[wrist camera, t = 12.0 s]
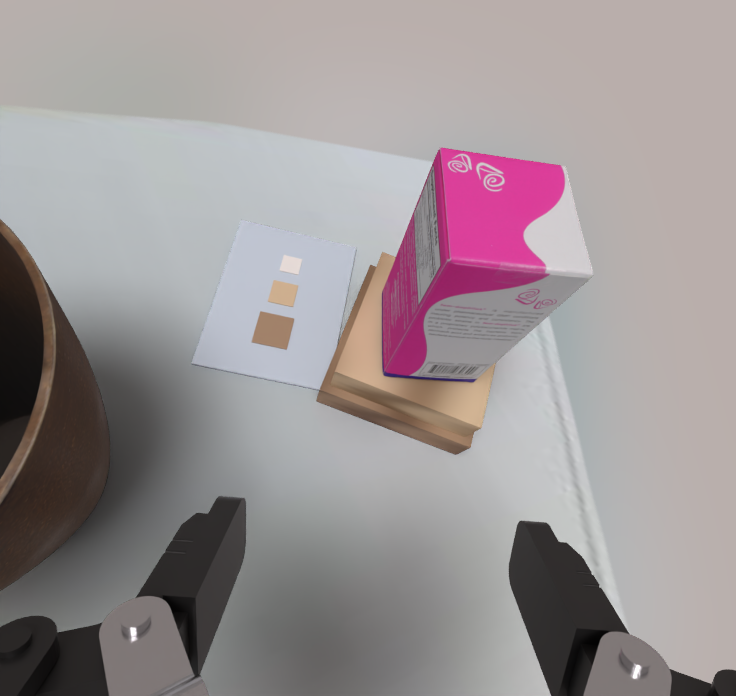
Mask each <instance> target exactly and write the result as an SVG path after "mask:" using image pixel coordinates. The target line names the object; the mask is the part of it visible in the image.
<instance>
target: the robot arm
mask: <svg viewBox="0 0 736 696" xmlns="http://www.w3.org/2000/svg"><path fill="white" fill-rule="evenodd" d="M245 545H246V501H245V499H244V498H236V497H223V496H219V497H218V498H217V499H216V501H215V502H214V504H213V506H212V508H211V510H210V511H209V513H208V514H203V513H196V514H195V515H194V516H192V517H191V518H190V519H188V520H187V521H186V522H185V523H183V524H182V525H181V527H180V528H179V530H178V532H177V533H176V535H175V536H174V538H173V541H171V543H170V544H169V546H168V547H167V549H166V552H165V553H164V554H163V555H162V557H161V559H160V560H159V562H158V563H157V565H156V567H155V568H154V570H153V571H152V573H151V575H150V576H149V578H148V579H147V581H146V583H145V584H144V586H143V587H142V589H141V590H140V592H139V594H138V595H137V597H136V598H134V599H131V600H129V601H127V602H124V603H123V604H121V605H119V606H118V607H117V608H115V609H114V610H113V611H112V612H111V613H110V614H109V615H108V616H107V617H106V618H105V620H104V621H103V622H102V623H100V624H97V625H93V626H89V627H84V628H79V629H74V630H69V631H64V632H59V633H57V628H56V625H55V623H54V622H53V621H52V620H51V619H49V618H47V617H44V616H29V617H24V618H20V619H17V620H15V621H12V622H10V623H8V624H5V625H3V626H2V627H0V696H209V695H208V692H207V689H206V686H205V684H204V681H203V679H202V677H201V676H200V673H201V670H202V667H203V665H204V662H205V659H206V657H207V654H208V652H209V649H210V646H211V644H212V641H213V639H214V636H215V633H216V631H217V628H218V625H219V623H220V620H221V618H222V615H223V612H224V610H225V607H226V605H227V602H228V599H229V597H230V594H231V591H232V589H233V586H234V584H235V581H236V578H237V576H238V573H239V571H240V568H241V565H242V562H243V558H244V553H245ZM509 580H510V585H511V588H512V591H513V594H514V597H515V599H516V602H517V605H518V607H519V610H520V613H521V615H522V618H523V621H524V623H525V626H526V629H527V632H528V634H529V637H530V640H531V642H532V645H533V648H534V650H535V653H536V656H537V659H538V661H539V664H540V667H541V669H542V672H543V675H544V677H545V680H546V683H547V686H548V688H549V691H550V694H551V696H736V671H735V670H721V671H719V672H717V674H716V675H715V677H714V679H713V682H712V684H710V683H707V682H704V681H701V680H699V679H696V678H693V677H690V676H687V675H684V674H681V673H679V672H676V671H674V670H671V669H669V667H668V665H667V664H666V662H665V661H664V659H663V658H662V657H661V656H660V654H659V653H657V651H656V650H654V649H653V648H652V647H651V646H650V645H648V644H647V643H646V642H644V641H642V640H641V639H639V638H637V637H635V636H633V635H630V634H629V633H628V631H627V629H626V628H625V626H624V624H623V623H622V621H621V620H620V618H619V616H618V615H617V613H616V611H615V610H614V608H613V607H612V605H611V603H610V602H609V600H608V598H607V597H606V595H605V593H604V592H603V590H602V589H601V588H599V584H598V582H597V580H596V579H595V577H594V576H593V575H592V574H591V571H590V569H589V567H588V566H587V564H586V562H585V561H584V559H583V558H582V556H581V555H580V554H578V553H577V552H576V551H575V550H574V549H573V548H572V547H571V546H570V545H568V544H567V543H563V542H558V540H557V538H556V536H555V535H554V533H553V531H552V529H551V528H550V526H549V525H548V524H547V523H544V522H531V521H520V522H519V523H518V525H517V529H516V534H515V538H514V543H513V548H512V553H511V558H510V562H509Z"/></svg>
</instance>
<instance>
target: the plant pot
mask: <svg viewBox="0 0 736 696" xmlns="http://www.w3.org/2000/svg"><path fill="white" fill-rule="evenodd" d="M109 464H110V438H109V429H108V423H107V418H106V413H105V409H104V405H103V401H102V398H101V394H100V391H99V388H98V385H97V382H96V379H95V376H94V374H93V371H92V369H91V366H90V364H89V361H88V359H87V357H86V355H85V352H84V350H83V348H82V346H81V344H80V342H79V340H78V338H77V336H76V334H75V332H74V330H73V328H72V326H71V325H70V323H69V321H68V319H67V317H66V316H65V314H64V312H63V310H62V308H61V307H60V305H59V303H58V301H57V300H56V298H55V296H54V294H53V293H52V291H51V289H50V287H49V286H48V284H47V282H46V280H45V279H44V277H43V275H42V273H41V272H40V270H39V268H38V266H37V265H36V263H35V261H34V259H33V258H32V256H31V255H30V253H29V252H28V250H27V249H26V247H25V246H24V245H23V243H22V242H21V241H20V240H19V238H18V237H17V236H16V235H15V234H14V232H13V231H12V230H11V229H10V228H9V227H8V226H7V225H6V224H5V223H4V222H3V221H2V220H1V219H0V591H1V590H3V589H4V588H6V587H7V586H9V585H10V584H12V583H13V582H15V581H16V580H18V579H19V578H21V577H22V576H23V575H25V574H26V573H28V572H29V571H30V570H32V569H33V568H34V567H36V566H37V565H38V564H39V563H41V562H42V561H43V560H44V559H46V558H47V557H48V556H50V555H51V554H52V553H53V552H54V551H55V550H57V549H58V548H59V547H60V546H61V545H62V544H63V543H64V542H65V541H66V540H68V539H69V538H70V537H71V536H72V535H73V534H74V533H75V531H76V530H77V529H78V528H79V527H80V526H81V525H82V524H83V522H84V521H85V520H86V519H87V518H88V516H89V515H90V514H91V512H92V511H93V509H94V508H95V506H96V504H97V503H98V501H99V499H100V497H101V495H102V493H103V490H104V487H105V484H106V481H107V477H108V471H109Z"/></svg>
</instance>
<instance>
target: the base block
mask: <svg viewBox="0 0 736 696" xmlns="http://www.w3.org/2000/svg"><path fill="white" fill-rule="evenodd" d="M395 258H396V257H394V256H391V255H389V254H386V253H384V252H382V254H381V257H380V259H379V262H378V264H377V267H375V266H372V265H370V267H369V270H368V272H367V275H366V277H365V279H364V282H363V284H362V287H361V289H360V292H359V294H358V297H357V299H356V301H355V304H354V306H353V309H352V311H351V314H350V316H349V319H348V321H347V324H346V326H345V328H344V331H343V333H342V336H341V338H340V341H339V343H338V346H337V348H336V350H335V353H334V355H333V358H332V360H331V363H330V365H329V368H328V370H327V373H326V375H325V377H324V380H323V382H322V385H321V387H320V390H319V393H318V397H317V402H320V403H323V404H325V405H328V406H330V407H333V408H336V409H338V410H341V411H343V412H346V413H349V414H351V415H354V416H356V417H359V418H362V419H364V420H367V421H369V422H372V423H375V424H377V425H380V426H382V427H385V428H388V429H390V430H393V431H395V432H398V433H401V434H403V435H406V436H408V437H411V438H414V439H416V440H419V441H421V442H424V443H427V444H429V445H432V446H435V447H437V448H440V449H442V450H445V451H448V452H450V453H453V454H455V455H456V454H458V453H460V452H462V451H464V450H466V449H469V448H470V447H471V443H472V438H473V434H474V432H475V431H477V430H479V429H481V427H482V423H483V418H484V414H485V409H486V405H487V400H488V396H489V391H490V387H491V382H492V377H493V373H494V368H495V364H496V363H494V364H493V365H492V366H491V367H490V368H489V369H488V370H486V371H485V372H484V373H483V374H482V375H481V376H480V377H479V378H477V379H476V381H475V382H461V381H443V380H427V379H413V378H400V377H388V376H384V375H383V369H382V291H383V289H384V286H385V284H386V281H387V279H388V276H389V274H390V271H391V269H392V266H393V264H394V261H395Z"/></svg>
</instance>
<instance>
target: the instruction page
mask: <svg viewBox="0 0 736 696" xmlns="http://www.w3.org/2000/svg"><path fill="white" fill-rule="evenodd" d="M355 252H356V247H353V246H349V245H345V244H341V243H336V242H332V241H328V240H324V239H320V238H316V237H312V236H307V235H303V234H299V233H295V232H291V231H287V230H283V229H278V228H274V227H270V226H266V225H262V224H258V223H253V222H249V221H245V220H241V221H240V224H239V227H238V230H237V233H236V236H235V239H234V241H233V244H232V247H231V250H230V253H229V256H228V259H227V262H226V264H225V267H224V270H223V273H222V276H221V279H220V282H219V285H218V288H217V290H216V293H215V296H214V299H213V302H212V305H211V308H210V311H209V314H208V316H207V319H206V322H205V325H204V328H203V331H202V334H201V337H200V340H199V342H198V345H197V348H196V351H195V354H194V357H193V360H192V363H191V364H193V365H198V366H202V367H207V368H212V369H217V370H222V371H227V372H232V373H237V374H242V375H247V376H252V377H256V378H261V379H266V380H271V381H276V382H281V383H286V384H291V385H296V386H301V387H306V388H310V389H315V390H320V387H321V385H322V382H323V380H324V377H325V375H326V373H327V370H328V368H329V365H330V363H331V360H332V358H333V355H334V353H335V350H336V348H337V343H338V338H339V333H340V328H341V323H342V318H343V313H344V308H345V303H346V298H347V293H348V288H349V283H350V277H351V272H352V267H353V262H354V257H355Z"/></svg>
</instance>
